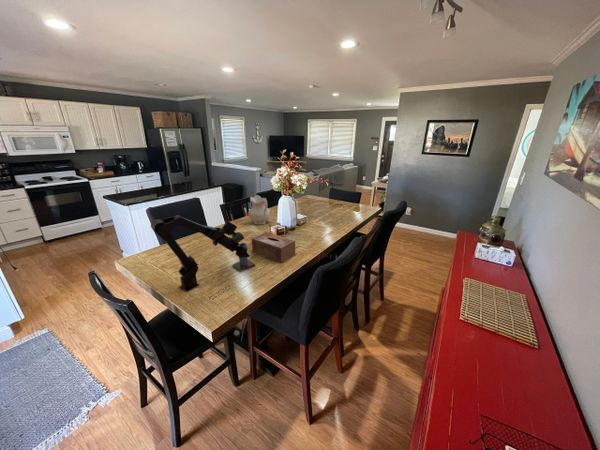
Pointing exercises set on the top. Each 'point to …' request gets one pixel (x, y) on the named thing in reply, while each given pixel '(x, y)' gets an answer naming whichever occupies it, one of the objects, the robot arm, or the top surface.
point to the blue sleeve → (243, 260)
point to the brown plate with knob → (241, 268)
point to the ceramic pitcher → (259, 210)
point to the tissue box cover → (273, 246)
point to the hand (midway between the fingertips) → (245, 253)
